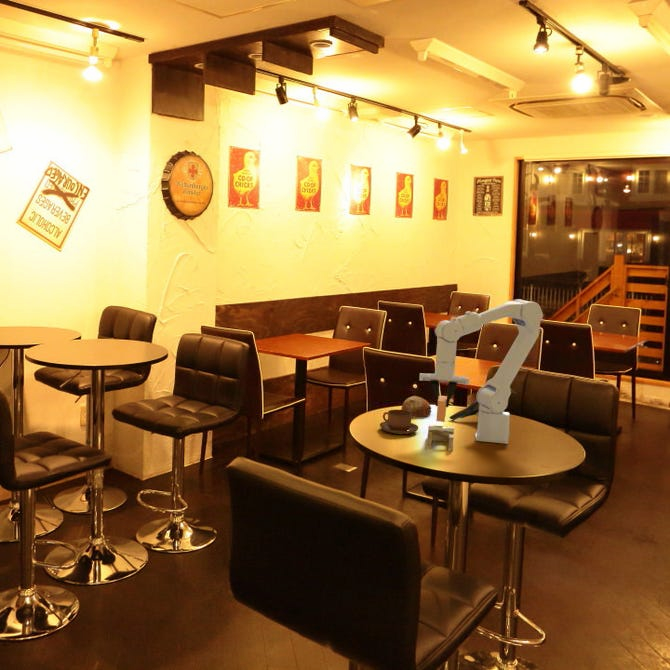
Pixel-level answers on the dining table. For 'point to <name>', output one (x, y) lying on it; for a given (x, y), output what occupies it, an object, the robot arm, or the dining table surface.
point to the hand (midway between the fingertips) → (442, 406)
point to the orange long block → (441, 408)
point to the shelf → (440, 435)
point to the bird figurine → (469, 410)
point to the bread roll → (417, 406)
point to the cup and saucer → (398, 422)
